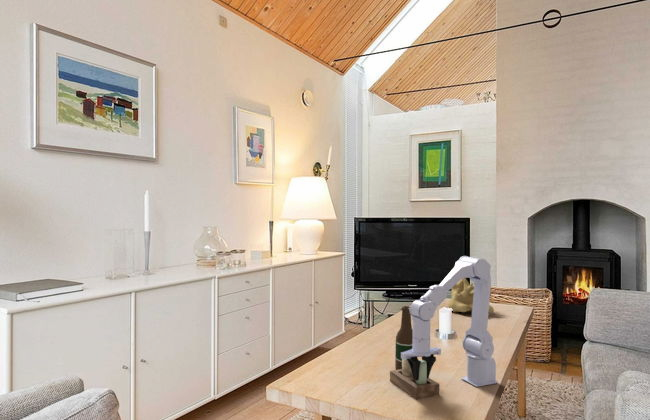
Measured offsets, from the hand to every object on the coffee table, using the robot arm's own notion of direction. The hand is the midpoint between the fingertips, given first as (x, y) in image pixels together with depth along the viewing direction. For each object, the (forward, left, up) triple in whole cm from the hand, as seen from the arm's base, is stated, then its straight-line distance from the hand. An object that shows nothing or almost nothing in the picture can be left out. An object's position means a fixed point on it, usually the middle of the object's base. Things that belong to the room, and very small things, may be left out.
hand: (420, 378), depth 148 cm
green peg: (0, 0, -3) cm, 4 cm away
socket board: (0, -4, -5) cm, 6 cm away
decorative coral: (-92, -82, -5) cm, 123 cm away
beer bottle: (-6, -18, -5) cm, 20 cm away
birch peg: (0, -8, -5) cm, 9 cm away
